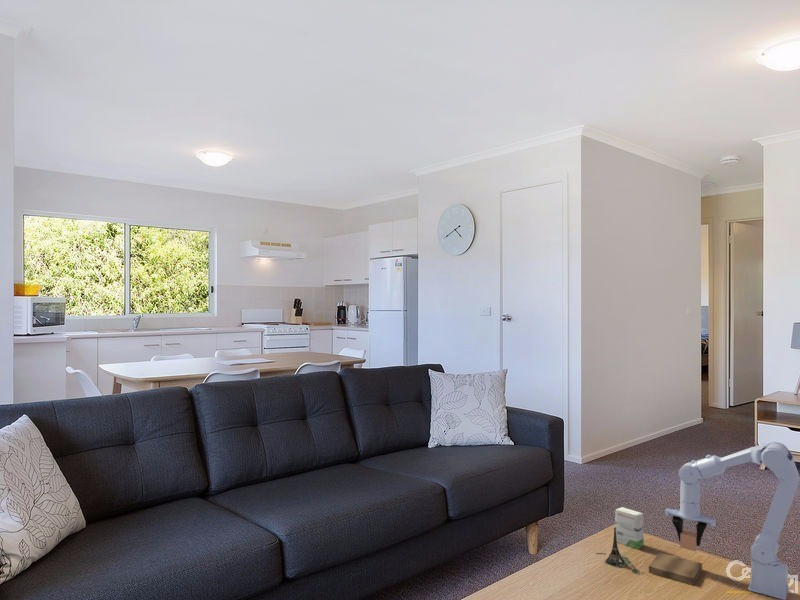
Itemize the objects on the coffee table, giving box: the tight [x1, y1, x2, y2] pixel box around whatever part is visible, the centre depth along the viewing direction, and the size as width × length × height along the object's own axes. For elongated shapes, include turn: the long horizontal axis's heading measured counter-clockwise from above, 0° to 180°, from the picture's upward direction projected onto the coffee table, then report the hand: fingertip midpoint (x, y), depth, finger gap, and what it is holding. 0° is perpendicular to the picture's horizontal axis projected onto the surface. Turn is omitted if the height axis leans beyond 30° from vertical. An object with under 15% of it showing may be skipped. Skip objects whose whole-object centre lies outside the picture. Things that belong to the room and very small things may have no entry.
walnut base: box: [648, 551, 703, 586], centre depth 185 cm, size 13×13×2 cm
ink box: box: [614, 506, 645, 550], centre depth 206 cm, size 9×5×12 cm, turn 39°
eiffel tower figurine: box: [595, 526, 640, 575], centre depth 190 cm, size 15×10×13 cm
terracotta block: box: [679, 528, 700, 552], centre depth 187 cm, size 5×5×4 cm
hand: (689, 542), depth 187 cm, fingers closed on terracotta block, 5 cm apart
